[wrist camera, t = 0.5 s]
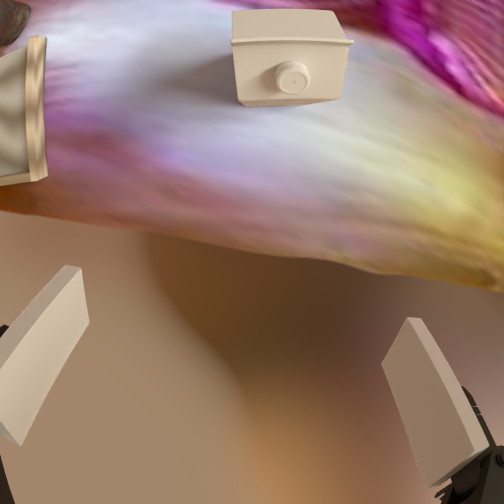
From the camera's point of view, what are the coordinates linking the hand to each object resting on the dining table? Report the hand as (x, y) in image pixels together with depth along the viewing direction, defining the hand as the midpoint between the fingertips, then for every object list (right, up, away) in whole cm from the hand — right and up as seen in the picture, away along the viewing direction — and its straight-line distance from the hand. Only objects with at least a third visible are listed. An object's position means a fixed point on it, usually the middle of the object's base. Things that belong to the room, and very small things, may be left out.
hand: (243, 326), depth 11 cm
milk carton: (+3, +23, +20) cm, 31 cm away
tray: (-36, +23, +20) cm, 47 cm away
